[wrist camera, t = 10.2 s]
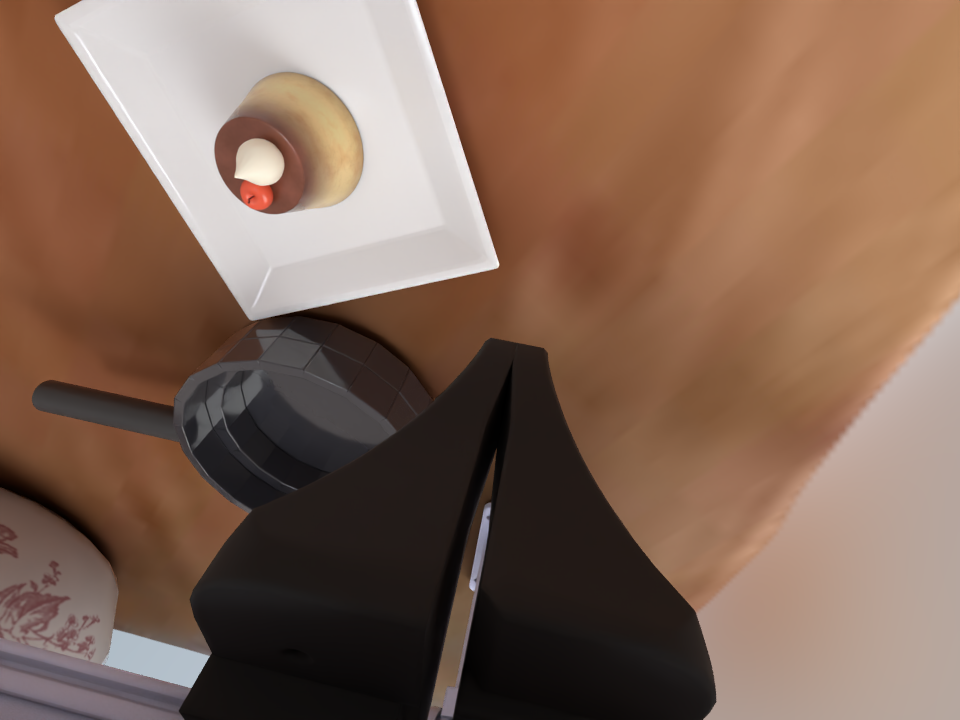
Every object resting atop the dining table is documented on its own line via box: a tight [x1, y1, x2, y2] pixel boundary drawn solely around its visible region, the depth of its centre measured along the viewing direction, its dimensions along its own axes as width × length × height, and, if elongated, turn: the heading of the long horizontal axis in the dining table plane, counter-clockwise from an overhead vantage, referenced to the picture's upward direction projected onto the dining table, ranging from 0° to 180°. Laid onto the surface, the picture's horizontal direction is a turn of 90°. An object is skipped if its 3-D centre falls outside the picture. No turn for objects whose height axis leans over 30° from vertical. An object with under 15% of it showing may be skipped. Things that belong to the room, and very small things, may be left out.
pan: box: [173, 316, 433, 513], centre depth 25 cm, size 12×12×4 cm
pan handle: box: [32, 380, 179, 442], centre depth 25 cm, size 2×8×2 cm, turn 83°
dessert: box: [55, 0, 499, 321], centre depth 17 cm, size 12×12×5 cm
